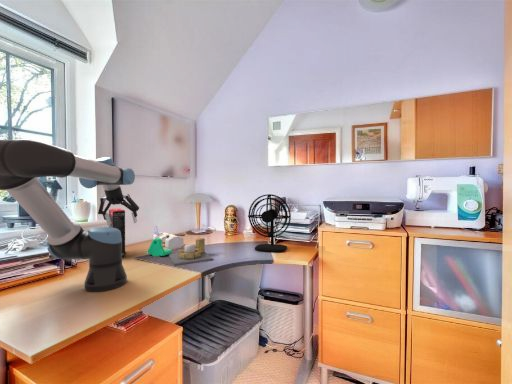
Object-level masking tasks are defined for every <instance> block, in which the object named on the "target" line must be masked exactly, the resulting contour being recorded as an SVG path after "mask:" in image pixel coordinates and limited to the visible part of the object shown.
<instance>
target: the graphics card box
mask: <svg viewBox="0 0 512 384" xmlns="http://www.w3.org/2000/svg"><path fill="white" fill-rule="evenodd" d="M108 214H109V217H110V220H111V224H110V226H108V227H112V228H116V229H119V230H120V232H121V238H122V258H126V211H125V210H124V209H122V208H111V209H110V208H109V209H108Z"/></svg>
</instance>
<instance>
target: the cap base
mask: <svg viewBox="0 0 512 384" xmlns="http://www.w3.org/2000/svg"><path fill="white" fill-rule="evenodd" d="M183 247H184V249H183V250H184V253H188V251H191V253H194V252H195V249H196V244H192V243H191V244H185V245H183ZM168 257H169V259H170V261H171V262H172V264H173V265H174V266H175V267H176V266H182V265H187V264H194V263H201V262H203V263H204V262H208V261H213V257H211V255H209V254H208V253H207V252H206V251H205V252H203V253H201V256H200V257H197V258H193V259H182V258H179V252H177V253H170V254H168Z"/></svg>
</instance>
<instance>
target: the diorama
mask: <svg viewBox="0 0 512 384" xmlns="http://www.w3.org/2000/svg"><path fill="white" fill-rule="evenodd" d="M153 233H154V234H153V235H152V241H153V240H154V239H157V238H161V240H162V241H163V239H165V238H166V239H165V240H164V245H165V246H164V245H163V244H162V247H163V248H164V247H165V248H166V249H168V250H175V249H176V250H177V249H180V248H183V247H184V238H183V237H182V236H178V235H175V234H171V233H168V232H164V231H159V232H158V226H155V228H154V232H153ZM158 236H159V237H158Z"/></svg>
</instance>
